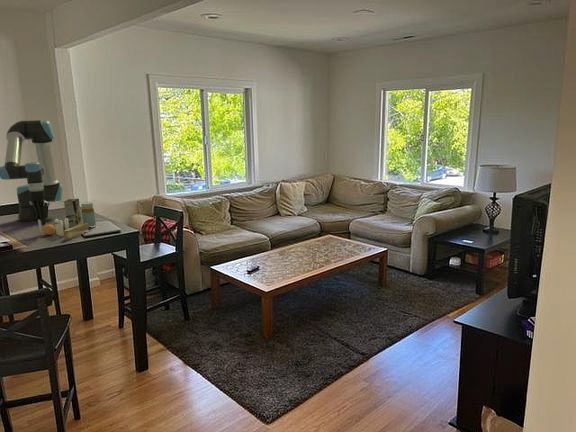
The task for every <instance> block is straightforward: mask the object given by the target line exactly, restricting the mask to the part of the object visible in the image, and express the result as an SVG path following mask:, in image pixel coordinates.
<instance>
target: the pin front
mask: <svg viewBox="0 0 576 432" xmlns="http://www.w3.org/2000/svg"><path fill="white" fill-rule="evenodd" d="M58 221H59V218H56V219H54V221H53V222H54V227H55V234H56V236H60V230H59V223H58Z"/></svg>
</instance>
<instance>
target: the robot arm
mask: <svg viewBox="0 0 576 432" xmlns="http://www.w3.org/2000/svg"><path fill="white" fill-rule="evenodd" d="M5 139H6V140H7V146H6V151H5V158H4V165H2V166H0V179H1V180H7V181H8V180H19V179H26V182H27V184H22V185H19V186H18V187H17V188H16V195H17V200H18V202H17V203H18V207H19V210H18V216H17V220H19V222H33V221H34V220H35V221H36V222H37V226H38V229H39V232H44V231H43V229H44V227H45V226H46V219H48V218H49V206H50V205H51V203H53V202H61V201H62V200H63V189H64V188H63V184H62V183H60V180H58V179H57V176H56V171H55V165H54V157H53V151H52V147H51V144H52V143H53V140H54V139H55V131H54V129H53V125H52V123H51V122H50V121H49V120H44V119H43V120H42V119H38V120H20V121H17V122H15V123H13V124H12V125H11V126H10V127H9V128H8V131H6V138H5ZM25 140H26V141H27V140H28V141H29V140H31V143H32V144H34V147H35V151H36V157H37V161H36V162H26V163H24V165H21V161H22V151H23V150H22V149H23V143H24V142H25Z"/></svg>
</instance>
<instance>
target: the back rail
mask: <svg viewBox="0 0 576 432" xmlns="http://www.w3.org/2000/svg"><path fill="white" fill-rule="evenodd" d="M88 229H89V230H90V228H89V225H88V223H83V222H82V224H80V225H77V226H75V227H69V229H67V230H66V229H65V230H64V229H63V230H64V236H63V237H64V240H65V241H68V240H69V241H71V240H72V239H75V238H78V237H79V236H82V235H83V234H82V233H83V232H84V231H86V230H88ZM81 234H82V235H81Z"/></svg>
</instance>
